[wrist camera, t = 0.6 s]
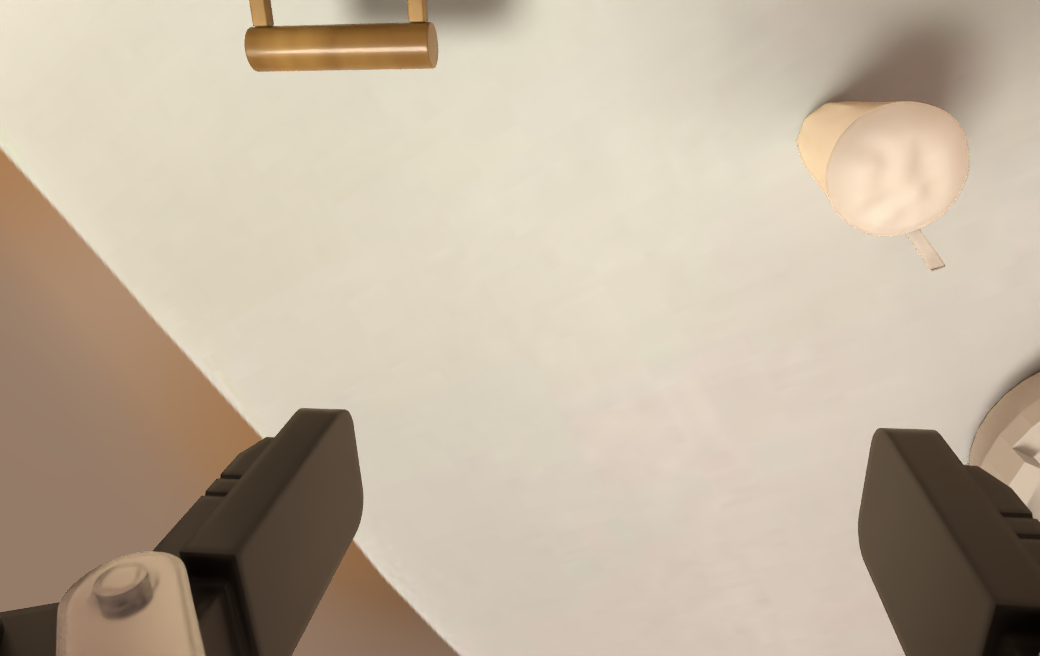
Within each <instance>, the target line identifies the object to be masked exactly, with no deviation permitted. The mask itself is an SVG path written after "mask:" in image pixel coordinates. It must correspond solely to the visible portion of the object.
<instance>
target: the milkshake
mask: <svg viewBox="0 0 1040 656" xmlns="http://www.w3.org/2000/svg"><path fill="white" fill-rule="evenodd" d="M796 143H797V146H798V150H799V153H800V157H801V161H802V164H803V165H804V166H805V168H806V169H807V170H808V172H809V173H810V174H811V176H812V177H813V178H814V179H815V181H816V182H817V183H818V185H819V186H820V187H821V188H822V190H823V191H824V193H825V194H826V196H827V198H828V199H829V201H830V202H831V204H832V206H833V208H834V210H835V211H836V213H837V214H838V215H839V216H840V217H841V218H842V219H843V220H844V221H845V222H847V223H848V224H850V225H851V226H853V227H855V228H856V229H858V230H860V231H862V232H864V233H867V234H870V235H875V236H895V235H901V234H906V236H907V237H908V239H909V240H910V241H911V243H912V244H913V246H914V247H915V249H916V250H917V251H918V253H919V254H920V256H921V257H922V259H923V260H924V261H925V263H926V264H927V266H928V267H929V268H930V270H932V271H933V270H936V269H940V268H943V267H945V264H944V262H943V261H942V260H941V258H940V257H939V255H938V254H937V253H936V251H935V250H934V249H933V247H932V246H931V244H930V243H929V242H928V240H927V239H926V237H925V236H924V235H923V233H922V232H921V231H920V228H922V227H924V226H926V225H928V224H930V223H932V222H933V221H935V220H936V219H938V218H939V217H941V216H942V215H943V214H944V213H945V212H946V211H947V210H948V209H949V208H950V207H951V206H952V204H953V203H954V202H955V200H956V199H957V197H958V195H959V194H960V192H961V190H962V188H963V186H964V184H965V181H966V178H967V175H968V171H969V151H968V144H967V139H966V136H965V133H964V131H963V129H962V127H961V126H960V124H959V123H958V122H957V121H956V119H955V118H954V117H953V116H951V115H950V114H949V113H948V112H946V111H944V110H942V109H940V108H938V107H935V106H932V105H928V104H925V103H920V102H912V101H902V102H879V103H875V102H858V101H846V102H832V103H825V104H823V105H822V106H821V107H819V108H818V109H817V110H816V111H814V112H813V113H811V114H810V115H809V116H807V117H806V118H805V119H804V122H803V125H802V127H801V130H800V132H799V135H798V138H797V140H796Z"/></svg>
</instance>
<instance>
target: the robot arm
mask: <svg viewBox="0 0 1040 656" xmlns="http://www.w3.org/2000/svg"><path fill="white" fill-rule="evenodd" d="M362 510H363V487H362V480H361V473H360V467H359V460H358V453H357V446H356V439H355V432H354V425H353V420H352V417H351V415H350V413H349V412H348V411H347V410H342V409H311V408H301V409H299V410H298V411H297V412H296V413H295V414H294V415H293V416H292V417H291V419H290V420H289V421H288V422H287V423H286V425H285V426H284V427H283V428H282V429H281V430H280V432H279V433H278V434H277V435H276V436H275V438H274V437H266V438H264V439H263V440H261V441H259V442H258V443H256V444H255V445H253V446H251V447H250V448H248V449H246V450H245V451H243V452H242V453H240V454H239V455H238V456H237V457H236V458H235V459H234V460H233V461H232V462H231V464H230V465H229V466H228V467H227V468H226V469H225V470H224V471H223V472H222V474H221V478H220V479H216V480H215V481H214V483H213V484H212V485H211V486H210V487H209V488H208V489H207V491H206V494H205V496H201V497H200V498H199V499H198V501H197V502H196V503H195V504H194V505H193V506H192V508H190V509H189V511H188V512H187V513H186V514H185V515H184V516H183V518H181V520H180V521H179V522H178V523H177V524H176V525H175V526H174V528H173V529H172V530H171V531H170V532H169V533H168V534H167V535H166V537H165V538H164V539H163V540H162V541H161V542H160V543H159V544H158V546H157V547H156V548H155V549H154V550H153V551H151V552H140V553H135V554H130V555H127V556H123V557H120V558H117V559H114V560H111V561H109V562H107V563H105V564H103V565H101V566H99V567H97V568H95V569H93V570H92V571H90V572H89V573H87V574H86V575H84V576H83V577H81V578H80V579H79V580H78V581H77V582H76V583H74V584H73V585H72V586H71V587H70V588H69V590H68V591H67V592H66V593H65V595H64V596H63V598H62V599H61V602H59V603H53V604H47V605H41V606H36V607H30V608H24V609H18V610H12V611H6V612H1V613H0V656H292V654H293V652H294V649H295V648H296V646H297V644H298V642H299V640H300V638H301V637H302V634H303V633H304V631H305V629H306V627H307V625H308V623H309V621H310V619H311V617H312V616H313V614H314V612H315V610H316V608H317V606H318V604H319V602H320V600H321V598H322V596H323V595H324V592H325V591H326V589H327V587H328V585H329V583H330V581H331V579H332V577H333V575H334V574H335V572H336V570H337V568H338V566H339V564H340V562H341V560H342V558H343V556H344V555H345V553H346V551H347V549H348V547H349V545H350V543H351V541H352V539H353V537H354V536H355V534H356V532H357V529H358V527H359V524H360V520H361V516H362ZM1032 514H1033V513H1032V512H1031V511H1030V510H1029V509H1028V507H1027V506H1026V505H1025V504H1024V503H1023V501H1022V500H1021V499H1020V498H1019V497H1018V495H1017V494H1016V493H1015V492H1014V490H1013V489H1012V488H1011V487H1009V486H1008V485H1006V484H1005V483H1003V482H1002V481H1000V480H998V479H997V478H995V477H994V476H992V475H991V474H989V473H988V472H986V471H985V470H983V469H982V468H980V467H979V466H970V465H963V464H962V462H961V461H960V460H959V459H958V457H957V456H956V455H955V453H954V452H953V451H952V449H951V448H950V447H949V445H948V444H947V443H946V441H945V440H944V439H943V437H942V436H941V435H940V434H939V433H938V432H937V431H935V430H922V429H892V428H879V429H878V430H876V432H875V433H874V435H873V438H872V442H871V447H870V453H869V459H868V465H867V470H866V476H865V482H864V488H863V494H862V500H861V506H860V512H859V519H858V535H859V544H860V549H861V554H862V557H863V560H864V562H865V565H866V567H867V569H868V571H869V574H870V576H871V578H872V580H873V583H874V585H875V587H876V590H877V592H878V594H879V596H880V599H881V601H882V603H883V605H884V608H885V610H886V612H887V614H888V617H889V619H890V621H891V623H892V626H893V628H894V630H895V633H896V635H897V637H898V639H899V642H900V644H901V646H902V648H903V651H904V653H905V655H906V656H1040V522H1039V521H1038V520H1037V519H1033V516H1032Z"/></svg>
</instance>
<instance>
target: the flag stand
mask: <svg viewBox="0 0 1040 656" xmlns="http://www.w3.org/2000/svg"><path fill="white" fill-rule="evenodd" d="M969 465H970V466H979V467H980V468H982V469H983V470H985V471H986V472H988V473H989V474H991V475H992V476H994V477H995V478H997V479H998V480H1000V481H1002V482H1003V483H1005V484H1006V485H1008V486H1009V487H1011V488H1012V489H1013V490H1014V492H1015V493H1016V494H1017V495H1018V497H1019V498H1020V499H1021V500H1022V501H1023V503H1024V504H1025V505H1026V506H1027V507H1028V509H1029V510H1030V511H1031V512H1032V513H1033V514H1032V516H1033V519H1037V520H1038V521H1039V522H1040V372H1038V373H1036V374H1035V375H1033V376H1031V377H1029V378H1027V379H1025V380H1024V381H1022V382H1021V383H1020V384H1018V385H1017V386H1016V387H1014V388H1013V389H1012V390H1011V391H1009V392H1008V393H1007V394H1005V395H1004V396H1003V397H1002V398H1001V400H1000V401H999V402H998V403H997V404H996V405H995V406H994V407H993V408H992V409H991V410H990V411H989V413H988V414H987V416H986V418H985V419H984V421H983V422H982V424H981V425H980V427H979V429H978V431H977V433H976V436H975V439H974V441H973V444H972V447H971V453H970V460H969Z"/></svg>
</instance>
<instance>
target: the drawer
mask: <svg viewBox="0 0 1040 656" xmlns="http://www.w3.org/2000/svg"><path fill="white" fill-rule="evenodd" d="M249 1H250V8H251V15H252V21H253V26H255V27H250V28H249V29H248V30H247V32H246V35H245V51H246V56H247V59H248V62H249V64H250V65H251V67H252V68H253V69H254V70H255V71H258V72H264V71H318V70H372V69H426V68H435V67H436V64H437V60H438V40H437V34H436V30H435V27H434V24H433V23H432V22H427V21H428V16H427V1H426V0H407V5H408V18H409V22H412V23H376V24H339V25H302V26H274V23H273V15H272V8H271V1H270V0H249Z"/></svg>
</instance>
